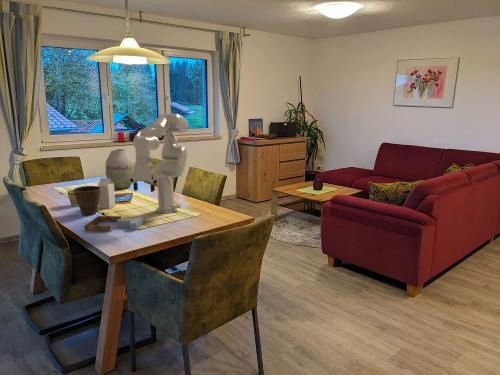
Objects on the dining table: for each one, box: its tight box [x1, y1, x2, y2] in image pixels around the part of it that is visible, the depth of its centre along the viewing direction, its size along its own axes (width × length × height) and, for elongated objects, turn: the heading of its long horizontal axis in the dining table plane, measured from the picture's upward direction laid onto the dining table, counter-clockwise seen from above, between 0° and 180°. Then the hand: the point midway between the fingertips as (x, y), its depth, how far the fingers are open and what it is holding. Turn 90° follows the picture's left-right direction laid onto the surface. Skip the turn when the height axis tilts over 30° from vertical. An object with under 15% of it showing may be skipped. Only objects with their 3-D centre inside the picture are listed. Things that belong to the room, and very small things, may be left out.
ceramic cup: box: [66, 189, 79, 208], centre depth 259 cm, size 13×10×10 cm
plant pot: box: [73, 185, 100, 217], centre depth 239 cm, size 15×15×16 cm
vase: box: [105, 148, 135, 191], centre depth 306 cm, size 21×21×30 cm
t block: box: [116, 216, 144, 231], centre depth 218 cm, size 12×12×4 cm
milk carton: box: [97, 177, 116, 209], centre depth 254 cm, size 7×7×19 cm
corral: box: [83, 215, 122, 233], centre depth 219 cm, size 14×18×3 cm
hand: (144, 191), depth 217 cm, fingers open, 9 cm apart
